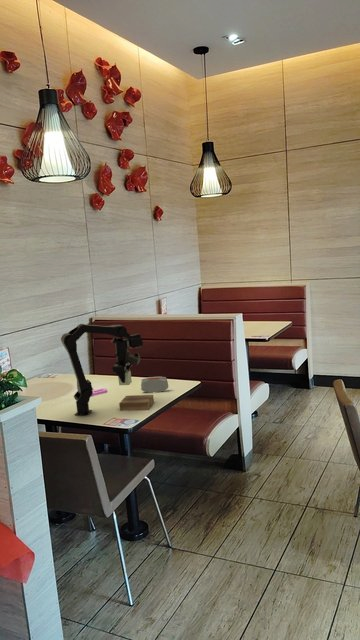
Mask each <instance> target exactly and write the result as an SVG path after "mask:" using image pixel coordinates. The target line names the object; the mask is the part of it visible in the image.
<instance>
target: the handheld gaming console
mask: <svg viewBox="0 0 360 640" xmlns="http://www.w3.org/2000/svg"><path fill="white" fill-rule="evenodd" d="M168 383H169V382H168V379H167V377H165V376H148V377H145V378H142V379H141V384H140V388H141V389H140V390H141V391H142V392H144V393H149V394H154V393H153V392H157V393H161V392H164V391H166V390H168V388H169V384H168Z"/></svg>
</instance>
